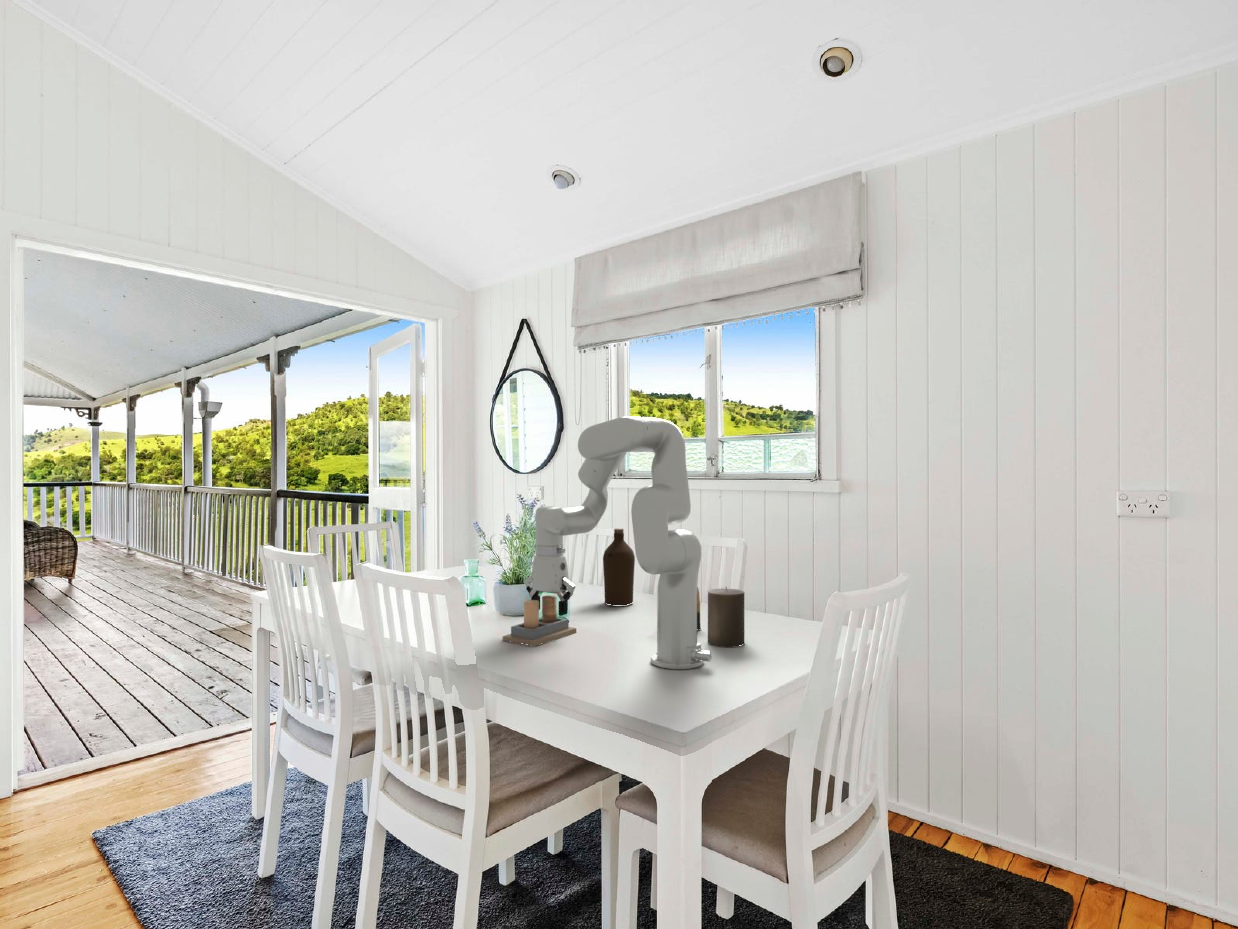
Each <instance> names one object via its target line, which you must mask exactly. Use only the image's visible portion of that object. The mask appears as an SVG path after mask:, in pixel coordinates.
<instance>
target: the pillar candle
mask: <svg viewBox="0 0 1238 929" xmlns="http://www.w3.org/2000/svg"><path fill="white" fill-rule="evenodd" d="M745 628H746V627H745V591H744V590H742V589H738V588H727V586H725V588H713V589H708V590H707V643H708V644H709V643H710V644H709V645H711V644H712V645H711V646H714V647H719V648H734V647H733V646H739V645H742V644H744V645H745V632H746V631H745ZM742 646H743V645H742ZM739 647H740V646H739Z"/></svg>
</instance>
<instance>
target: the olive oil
mask: <svg viewBox="0 0 1238 929" xmlns="http://www.w3.org/2000/svg"><path fill="white" fill-rule="evenodd" d="M602 556H603V557H602V563H603V564H602V565H603V566H602V567H603V569H602V570H603V582H604V584H603V587H604V603H605V602H606V603H607V604H611V605H627V604H630V603H632V602H633V603H634V585H635V584H634V583H635V582H634V581H635V565H636V564H635V563H636V559H635V558H636V557H635V556H636V555H635V553H634V550H633V549H632V548H631V546H630V545H629V544H628V543H627V542H626V541H625V533H624V528H613V541H612V542H611V543H610V544H609V545H608V547H607V548H606V549H605V550H604V553H603V555H602Z"/></svg>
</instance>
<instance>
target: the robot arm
mask: <svg viewBox="0 0 1238 929" xmlns="http://www.w3.org/2000/svg"><path fill="white" fill-rule="evenodd" d="M577 449H578V452H579V454H580V456H582V457H583V458H584V461H583V462H582V465H581V466H580V468H579V469H578V473H577V476H578V479H579V480H580V482H581V483H582V484H583V485H584V486H586V487H587V488H588V489H589V491H588V493H587V496H586V497H585V499H584V501H583V503H582V504H581V505H578V506H576V505H575V506H566V507H559V506H554V505H553V506H549V505H548V506H546V505H545V506H539V507H537V509H536V511H535V555H534V557H533V561H532V568H531V576H529V577H527V578H525V579H524V580H523V582H524V585H525V587H526V591H527V592H528V595H529V597H530V600H537V601H539V611H540V610H541V595H539V594H540V593H548V594H555V595H557V597H558V599H559V601H558V616H561V617H562V616H566V615H568V610H569V606H568V604H569V602H568V601H569V600H570V599H571V597H572V596H574V592H575V589H576V585H575V584H574V583H573V582H571V581H570V579H569V571H568V563H567V558H566V556H565V555H564V554H565V553H566V548H564V536H565V537H566V536H572V535H578V534H586V533H589V532H591V531H593V530H594V528H596V527H597V525H598V524H599V522H600V521H601V519H602V517H603V516H604V515H605V512H606V510H607V506H608V502H609V501H608V500H609V499H608V498H609V493H608V492H609V491H608V486H609V483H610V482H611V481H612V479H613V477H614V475H615V473H616V471H618V468H619V467H620V465H621V463H622V462H623V459H624V458H625V457H626V454H627V453H654V456H653V458H652V462H651V471H650V472H651V480H652V481H651V482H652V485H646V486H644V487H642V488H640V489H639V490H638V491H637V492H636V494H635V495H634V496H633V498H632V502H631V503H632V504H631V507H630V508H631V510H630V511H631V512H630V513H631V523H632V524H631V525H632V534H633V543H634V550H635V556H636V557H635V558H636V561H637V563H638V565H639V566H640V568H641V569H642V570H643V571H644V572H646V573H648V574H649V575H659V577H658V582H657V592H656V593H657V595H656V596H657V597H656V598H657V599H656V601H657V602H656V605H657V606H656V612H657V614H656V618H657V620H656V624H657V625H656V636H657V637H656V638H657V640H656V643H657V646H656V652H654V653H653V654H651V656H650V663H651V664H652V665H654V666H656V667H659V668H661V669H662V668H663V669H668V670H669V669H670V670H688V669H689V670H690V669H695V668H699V667H701V666H702V665H703V664H704V662H708V663H710V662H711V661H712V658H713V656H712V652H711V651H710V650H703V649H702V643H699V642H698V630H697V587H698V583H699V581H698V580H699V579H698V578H699V571H700V564H701V561H702V560H701V559H702V547H701V542H700V540H699V538H698V537H697V536H696V535H695V534H694V533H693V532H691V531H689V530H685V529H680V528H679V529H670V530H669V527H668V526H670V525H675V524H680V523H683V522H684V521H686V520H687V519H688V518H689V516H690V514H691V506H692V504H691V498H690V497H691V496H690V486H689V485H690V484H689V479H688V470H687V458H686V456H687V454H686V442H685V438H684V435H683V432H682V431H681V429H680V428H679V427H678V425H676V424H674V423H673V422H671V421H669V420H666V419H663V418H659V417H658V418H657V417H649V416H642V417H641V416H631V415H630V416H621V417H616V418H613V419H610V420H606V421H604V422H600V423H597V424H593V425H590V426H588V427H587V428H585V429H584V430H583V431H582V432H581V434H580V435H579V437H578V441H577Z"/></svg>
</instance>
